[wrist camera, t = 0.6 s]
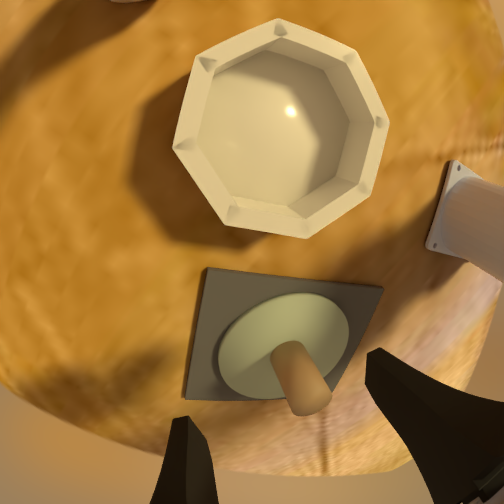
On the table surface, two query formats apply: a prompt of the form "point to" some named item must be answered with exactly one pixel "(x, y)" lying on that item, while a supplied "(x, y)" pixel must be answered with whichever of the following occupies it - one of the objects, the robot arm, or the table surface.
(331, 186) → the bowl
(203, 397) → the mat
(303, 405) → the lid
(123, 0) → the salt shaker
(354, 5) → the table surface
